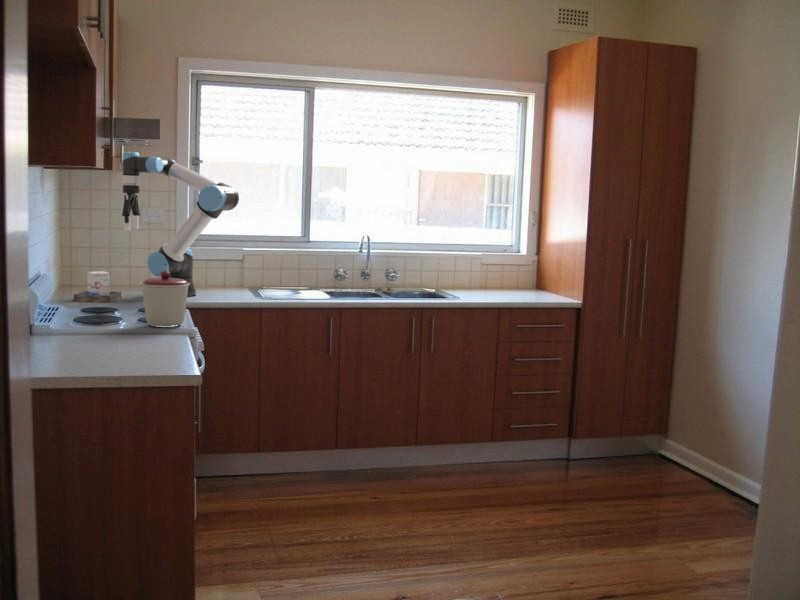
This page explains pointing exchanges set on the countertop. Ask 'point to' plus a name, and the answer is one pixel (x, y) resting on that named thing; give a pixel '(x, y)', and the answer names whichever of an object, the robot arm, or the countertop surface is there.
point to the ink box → (97, 283)
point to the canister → (165, 300)
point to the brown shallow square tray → (97, 297)
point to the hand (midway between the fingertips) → (131, 229)
